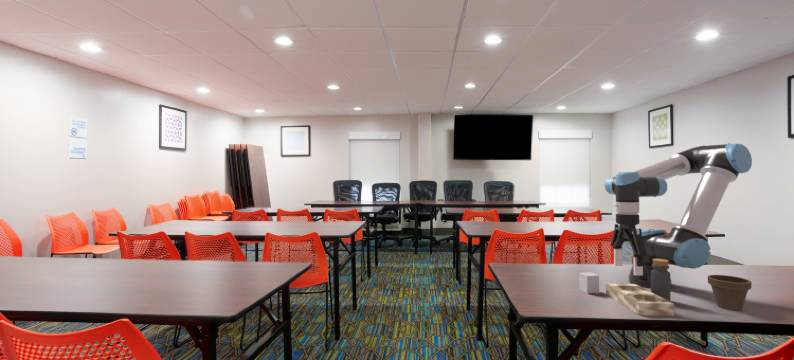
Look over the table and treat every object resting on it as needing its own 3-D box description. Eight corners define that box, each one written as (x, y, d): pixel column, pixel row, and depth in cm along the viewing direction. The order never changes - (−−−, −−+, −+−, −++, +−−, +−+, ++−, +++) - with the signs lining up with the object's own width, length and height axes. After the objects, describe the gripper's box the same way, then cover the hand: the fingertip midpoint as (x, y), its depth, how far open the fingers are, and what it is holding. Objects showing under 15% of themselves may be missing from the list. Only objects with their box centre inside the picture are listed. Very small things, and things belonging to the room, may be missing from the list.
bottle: (667, 298, 138) (667, 258, 138) (673, 304, 132) (672, 262, 132) (648, 297, 140) (648, 257, 140) (653, 302, 134) (653, 261, 134)
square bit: (591, 289, 150) (591, 272, 150) (599, 293, 145) (599, 275, 145) (579, 290, 150) (579, 272, 150) (587, 293, 145) (587, 276, 145)
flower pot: (714, 299, 137) (714, 272, 136) (756, 308, 127) (756, 279, 127) (702, 305, 130) (702, 277, 130) (745, 315, 121) (745, 285, 121)
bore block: (635, 294, 143) (635, 284, 143) (674, 315, 121) (674, 303, 121) (606, 294, 144) (605, 283, 144) (639, 315, 122) (639, 303, 122)
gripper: (601, 210, 151) (601, 262, 151) (635, 217, 126) (636, 279, 126) (620, 210, 150) (620, 262, 150) (659, 217, 125) (659, 279, 126)
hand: (627, 270), depth 138 cm, fingers open, 13 cm apart
